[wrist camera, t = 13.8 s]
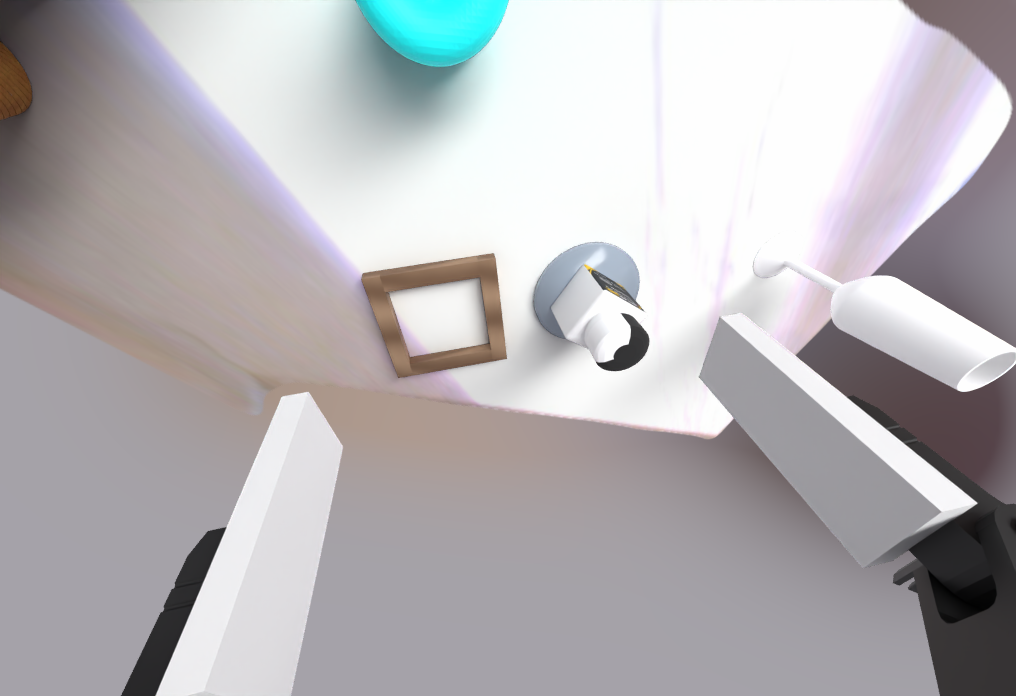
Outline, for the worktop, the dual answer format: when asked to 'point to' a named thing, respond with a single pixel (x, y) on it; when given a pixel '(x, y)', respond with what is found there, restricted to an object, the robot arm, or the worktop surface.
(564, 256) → the slate plate
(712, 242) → the worktop surface
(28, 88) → the disposable coffee cup
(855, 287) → the champagne flute
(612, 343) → the medicine bottle
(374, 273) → the wooden picture frame
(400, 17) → the donuts
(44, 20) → the worktop surface
